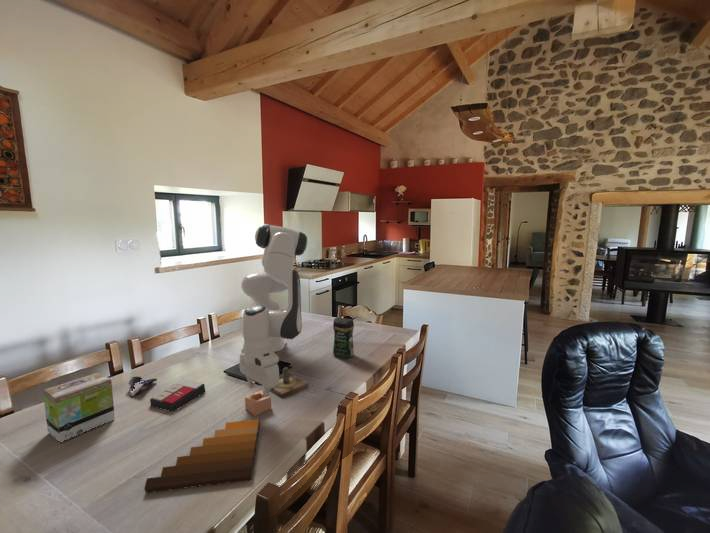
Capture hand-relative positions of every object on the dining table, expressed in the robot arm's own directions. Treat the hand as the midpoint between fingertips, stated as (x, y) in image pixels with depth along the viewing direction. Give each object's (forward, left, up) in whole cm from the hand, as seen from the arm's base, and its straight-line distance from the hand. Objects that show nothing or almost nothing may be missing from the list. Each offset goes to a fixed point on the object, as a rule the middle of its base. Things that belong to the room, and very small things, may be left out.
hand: (259, 391), depth 123 cm
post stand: (-7, +16, -7) cm, 18 cm away
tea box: (-32, -45, -7) cm, 56 cm away
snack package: (-46, -25, -7) cm, 53 cm away
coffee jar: (-13, +53, -7) cm, 55 cm away
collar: (-1, 0, -7) cm, 7 cm away
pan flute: (+11, -22, -7) cm, 26 cm away
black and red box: (-28, -17, -7) cm, 33 cm away
